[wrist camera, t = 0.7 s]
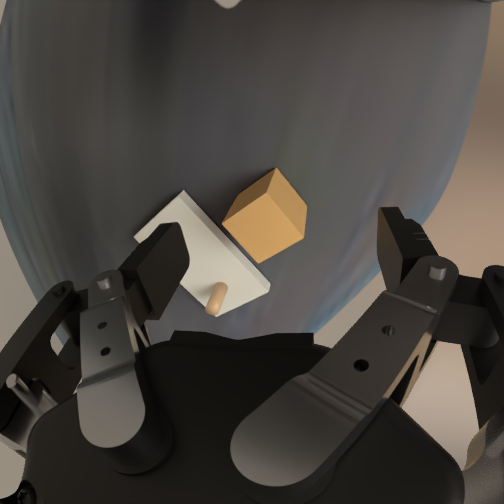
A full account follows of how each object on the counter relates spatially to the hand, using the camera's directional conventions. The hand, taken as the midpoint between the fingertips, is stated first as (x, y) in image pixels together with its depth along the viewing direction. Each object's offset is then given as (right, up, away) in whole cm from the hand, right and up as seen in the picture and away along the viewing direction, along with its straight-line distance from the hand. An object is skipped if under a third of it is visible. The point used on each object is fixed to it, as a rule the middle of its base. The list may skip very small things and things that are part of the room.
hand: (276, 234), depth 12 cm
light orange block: (+1, +4, +19) cm, 19 cm away
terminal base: (-7, -1, +25) cm, 26 cm away
